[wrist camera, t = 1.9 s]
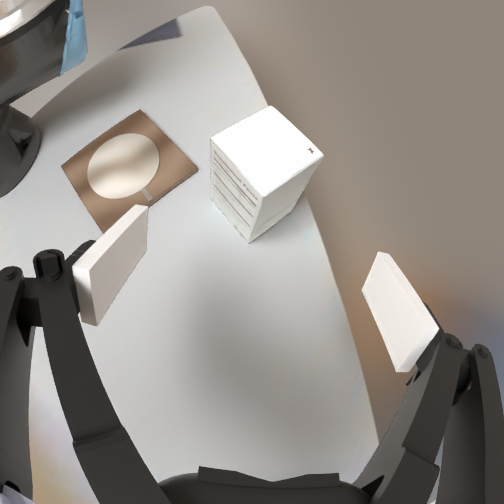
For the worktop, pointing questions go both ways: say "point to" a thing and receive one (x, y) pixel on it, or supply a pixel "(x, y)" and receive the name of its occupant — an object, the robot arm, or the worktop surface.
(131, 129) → the dial board
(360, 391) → the worktop surface
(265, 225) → the supplement box
